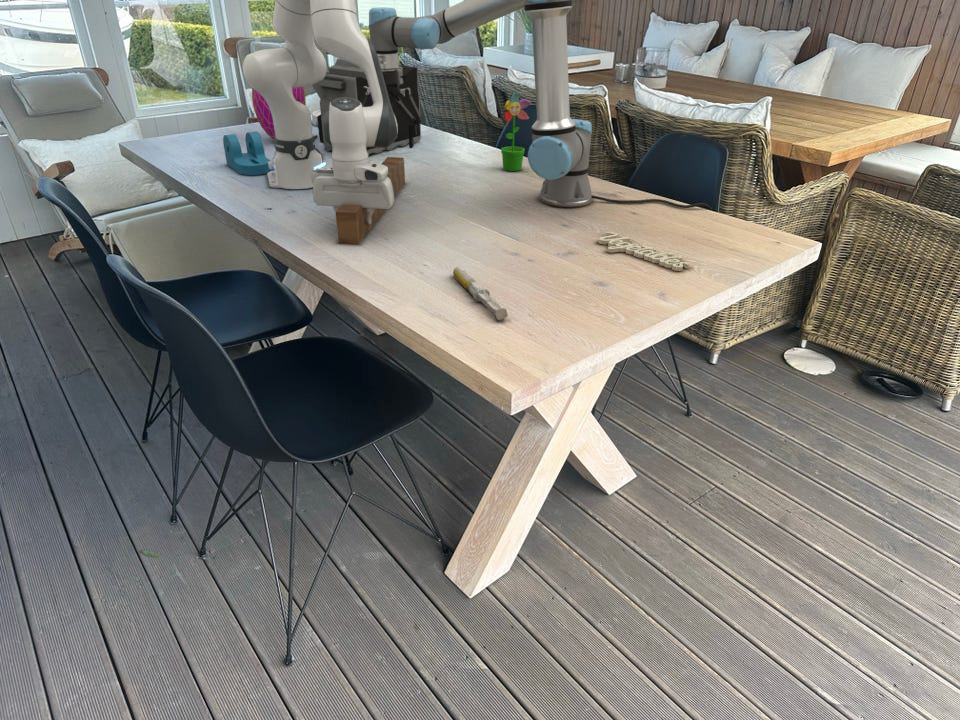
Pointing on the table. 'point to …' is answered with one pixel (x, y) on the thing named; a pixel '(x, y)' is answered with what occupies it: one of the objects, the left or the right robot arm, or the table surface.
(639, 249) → the decorative sign
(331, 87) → the grey black box
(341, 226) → the bar
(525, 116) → the potted flower
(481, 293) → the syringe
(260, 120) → the decorative egg
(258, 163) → the camera mount
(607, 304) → the table surface
